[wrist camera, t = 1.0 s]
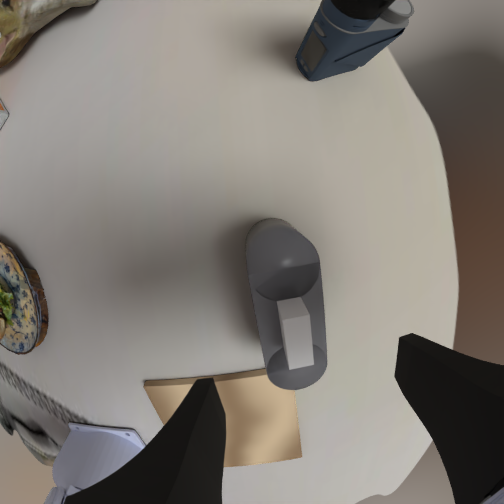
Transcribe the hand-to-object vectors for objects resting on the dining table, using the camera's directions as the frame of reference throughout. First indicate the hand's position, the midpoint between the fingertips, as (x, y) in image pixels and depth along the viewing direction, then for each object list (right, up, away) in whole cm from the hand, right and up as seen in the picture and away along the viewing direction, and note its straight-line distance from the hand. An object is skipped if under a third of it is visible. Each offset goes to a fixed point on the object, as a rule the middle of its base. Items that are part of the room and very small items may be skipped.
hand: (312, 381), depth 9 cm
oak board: (-4, -11, +13) cm, 17 cm away
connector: (0, +2, +9) cm, 10 cm away
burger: (-26, +1, +9) cm, 27 cm away
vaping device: (+3, +18, +6) cm, 19 cm away
